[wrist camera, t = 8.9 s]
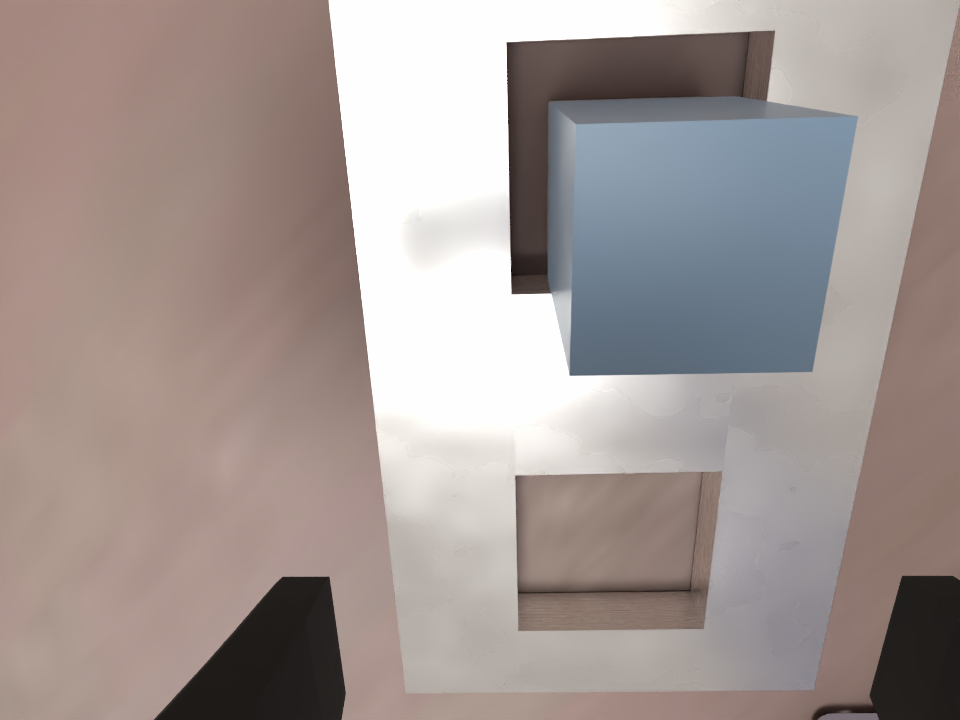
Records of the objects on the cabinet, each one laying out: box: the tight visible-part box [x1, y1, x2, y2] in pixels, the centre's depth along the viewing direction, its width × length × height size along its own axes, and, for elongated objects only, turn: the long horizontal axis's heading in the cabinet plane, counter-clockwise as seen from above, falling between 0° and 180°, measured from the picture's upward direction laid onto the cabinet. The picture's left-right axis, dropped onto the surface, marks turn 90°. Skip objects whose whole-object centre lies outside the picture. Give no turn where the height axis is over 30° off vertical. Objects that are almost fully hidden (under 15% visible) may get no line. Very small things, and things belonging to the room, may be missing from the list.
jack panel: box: [329, 0, 960, 693], centre depth 17 cm, size 12×20×2 cm, turn 2°
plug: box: [546, 96, 858, 376], centre depth 13 cm, size 4×4×7 cm
